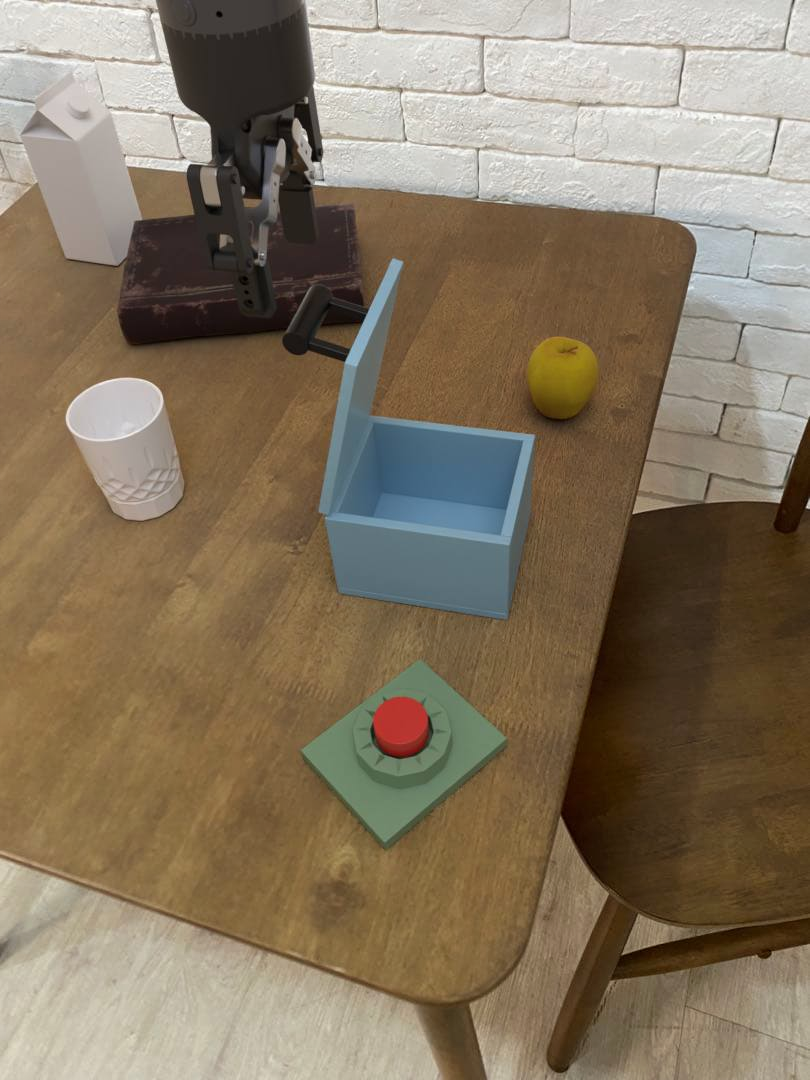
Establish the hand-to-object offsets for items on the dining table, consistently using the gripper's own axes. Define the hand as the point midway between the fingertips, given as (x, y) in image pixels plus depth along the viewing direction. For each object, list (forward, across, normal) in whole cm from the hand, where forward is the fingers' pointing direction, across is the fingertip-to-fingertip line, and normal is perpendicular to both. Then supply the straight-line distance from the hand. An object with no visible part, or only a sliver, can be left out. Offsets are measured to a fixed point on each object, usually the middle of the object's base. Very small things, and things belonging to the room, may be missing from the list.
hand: (282, 275), depth 60 cm
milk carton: (+25, +39, +40) cm, 62 cm away
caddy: (+25, 0, -9) cm, 27 cm away
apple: (+25, +19, -17) cm, 36 cm away
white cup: (+25, +2, +18) cm, 31 cm away
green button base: (+25, -18, -11) cm, 33 cm away
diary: (+25, +34, +20) cm, 46 cm away
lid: (+9, 0, -5) cm, 10 cm away
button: (+23, -18, -11) cm, 31 cm away
